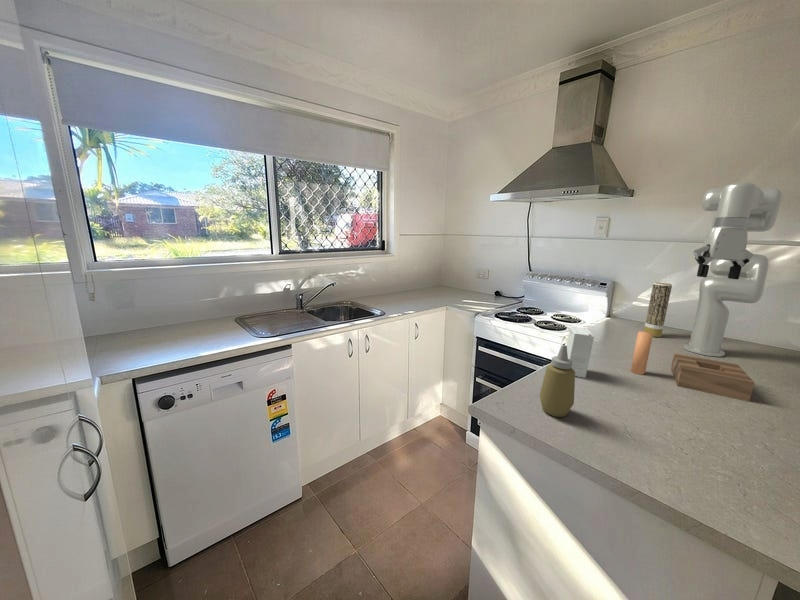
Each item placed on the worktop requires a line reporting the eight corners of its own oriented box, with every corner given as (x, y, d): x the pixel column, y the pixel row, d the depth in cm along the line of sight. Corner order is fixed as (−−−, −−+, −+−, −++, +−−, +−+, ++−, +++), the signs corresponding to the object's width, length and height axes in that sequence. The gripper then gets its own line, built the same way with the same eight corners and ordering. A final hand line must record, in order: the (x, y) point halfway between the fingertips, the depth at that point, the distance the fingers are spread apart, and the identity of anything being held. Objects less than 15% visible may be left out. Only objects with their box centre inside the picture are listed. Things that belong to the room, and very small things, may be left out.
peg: (630, 368, 114) (637, 330, 111) (644, 371, 112) (652, 332, 109) (630, 372, 111) (638, 333, 108) (645, 375, 109) (653, 335, 106)
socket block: (670, 369, 115) (674, 353, 114) (732, 381, 107) (737, 364, 105) (677, 385, 102) (681, 367, 101) (749, 401, 93) (754, 382, 92)
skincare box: (562, 366, 114) (568, 325, 111) (581, 368, 113) (588, 327, 109) (566, 375, 106) (573, 332, 103) (587, 378, 105) (594, 334, 102)
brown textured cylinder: (664, 338, 151) (675, 285, 146) (647, 336, 152) (658, 284, 147) (656, 334, 157) (666, 283, 152) (640, 332, 159) (650, 282, 153)
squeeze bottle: (570, 424, 79) (581, 354, 75) (535, 413, 83) (544, 346, 80) (573, 409, 86) (583, 344, 82) (540, 400, 90) (548, 338, 86)
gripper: (747, 226, 107) (734, 278, 110) (692, 223, 108) (680, 274, 111) (771, 225, 99) (756, 281, 102) (711, 222, 100) (698, 277, 103)
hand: (717, 277), depth 107 cm, fingers open, 9 cm apart
